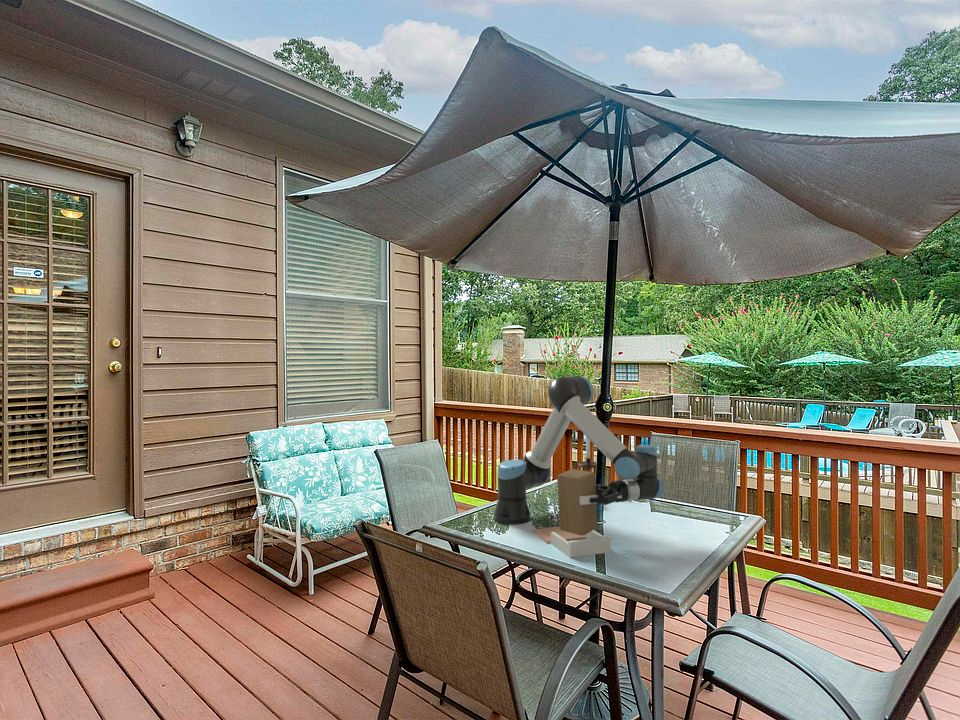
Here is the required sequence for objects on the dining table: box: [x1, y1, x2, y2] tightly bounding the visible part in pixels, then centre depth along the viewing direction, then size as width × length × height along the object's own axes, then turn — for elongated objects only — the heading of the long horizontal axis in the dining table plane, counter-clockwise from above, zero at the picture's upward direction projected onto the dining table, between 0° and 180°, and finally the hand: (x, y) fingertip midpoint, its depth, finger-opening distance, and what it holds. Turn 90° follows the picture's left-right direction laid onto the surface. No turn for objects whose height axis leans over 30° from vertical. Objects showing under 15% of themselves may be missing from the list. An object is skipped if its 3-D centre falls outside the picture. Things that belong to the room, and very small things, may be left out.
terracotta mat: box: [530, 525, 586, 544], centre depth 198 cm, size 18×14×1 cm
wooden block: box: [556, 468, 599, 536], centre depth 185 cm, size 10×10×20 cm
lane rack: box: [550, 529, 612, 558], centre depth 184 cm, size 14×15×5 cm
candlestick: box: [576, 435, 597, 472], centre depth 260 cm, size 11×11×35 cm
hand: (570, 495), depth 184 cm, fingers closed on wooden block, 13 cm apart
